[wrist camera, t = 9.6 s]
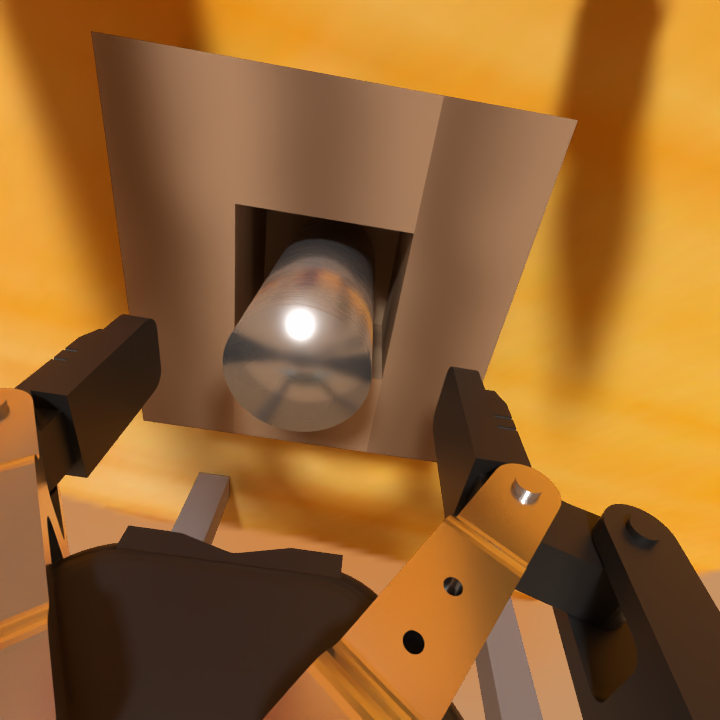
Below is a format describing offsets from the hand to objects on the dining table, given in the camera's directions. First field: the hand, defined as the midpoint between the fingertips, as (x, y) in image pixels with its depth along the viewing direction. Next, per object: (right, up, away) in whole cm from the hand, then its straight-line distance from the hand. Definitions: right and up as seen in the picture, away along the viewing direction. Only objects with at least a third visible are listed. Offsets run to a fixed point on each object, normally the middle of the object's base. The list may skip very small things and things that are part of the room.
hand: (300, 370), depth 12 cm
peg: (0, +5, +8) cm, 10 cm away
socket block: (0, +6, +9) cm, 11 cm away
